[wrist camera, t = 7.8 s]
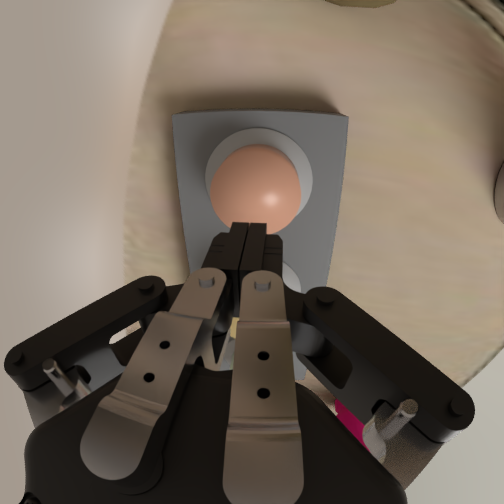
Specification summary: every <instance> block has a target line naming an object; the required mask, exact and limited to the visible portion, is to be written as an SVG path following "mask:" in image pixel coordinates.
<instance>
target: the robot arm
mask: <svg viewBox="0 0 504 504" xmlns="http://www.w3.org/2000/svg"><path fill="white" fill-rule="evenodd" d="M495 208H496V212H497V215H498V217H499V219H500V220H501V221H502V223H503V224H504V163H503V165H502V167H501V170H500V172H499V175H498V178H497V182H496V188H495ZM282 273H283V240H282V239H281V238H280V236H279V235H277V234H267V223H253V222H250V223H249V222H232V225H231V228H230V231H229V233H227V232H220V233H219V234H218V235H217V236H215V237H214V238H213V240H212V242H211V246H210V247H209V250H208V252H207V254H206V257H205V259H204V262H203V264H202V266H201V269H198V270H196V271H194V272H192V273H191V274H190V275H189V277H188V278H187V280H186V282H185V283H184V284H180V285H173V286H165V282H164V280H163V279H161V278H160V277H157V276H144V277H141V278H139V279H137V280H135V281H133V282H131V283H129V284H127V285H125V286H123V287H122V288H119V289H118V290H116V291H114V292H112V293H110V294H108V295H106V296H104V297H102V298H101V299H99V300H97V301H95V302H93V303H91V304H89V305H88V306H86V307H84V308H82V309H80V310H78V311H77V312H75V313H73V314H71V315H69V316H67V317H66V318H64V319H62V320H60V321H58V322H57V323H55V324H53V325H51V326H50V327H48V328H46V329H44V330H42V331H41V332H39V333H37V334H35V335H34V336H32V337H30V338H28V339H27V340H25V341H23V342H22V343H20V344H18V345H16V346H15V347H13V348H12V349H11V350H10V351H9V352H8V354H7V355H6V358H5V362H4V368H5V371H6V372H7V374H8V375H9V376H10V377H11V378H12V379H13V380H14V381H15V382H16V383H17V385H18V386H19V388H20V389H21V390H22V391H23V393H24V396H25V400H26V403H27V406H28V409H29V413H30V415H31V418H32V421H33V424H34V427H35V429H34V430H33V431H32V433H31V434H30V436H29V438H28V440H27V442H26V446H25V452H24V458H25V471H26V485H25V493H24V497H23V499H22V500H21V502H20V503H19V504H407V497H406V493H405V491H404V490H405V489H406V488H407V487H408V486H409V485H410V484H411V483H412V482H413V481H414V479H415V478H416V477H417V476H418V475H419V474H420V473H421V471H422V470H423V469H424V468H425V467H426V465H427V464H428V463H429V462H430V460H431V459H432V458H433V457H434V456H435V454H436V453H437V452H438V450H439V449H440V448H441V446H442V445H444V444H445V443H447V442H448V441H449V440H451V439H452V438H454V437H455V436H456V435H458V434H459V433H460V432H462V431H463V430H464V429H465V428H467V427H468V426H469V425H470V424H471V422H472V421H473V418H474V414H475V406H474V403H473V400H472V398H471V397H470V395H469V394H468V393H467V392H466V391H464V390H463V389H462V388H461V387H460V386H458V385H457V384H456V383H455V382H453V381H452V380H451V379H450V378H449V377H447V376H446V375H445V374H444V373H442V372H441V371H440V370H439V369H437V368H436V367H435V366H434V365H432V364H431V363H430V362H429V361H427V360H426V359H425V358H424V357H422V356H421V355H420V354H419V353H417V352H416V351H415V350H414V349H412V348H411V347H410V346H409V345H407V344H406V343H405V342H404V341H402V340H401V339H400V338H398V337H397V336H396V335H395V334H393V333H392V332H391V331H390V330H388V329H387V328H386V327H384V326H383V325H382V324H381V323H379V322H378V321H377V320H375V319H374V318H373V317H372V316H370V315H369V314H368V313H366V312H365V311H364V310H362V309H361V308H360V307H359V306H357V305H356V304H355V303H353V302H352V301H351V300H349V299H348V298H347V297H346V296H344V295H343V294H342V293H340V292H339V291H337V290H335V289H333V288H330V287H324V286H320V287H315V288H312V289H310V290H308V291H307V292H306V294H304V293H300V292H297V291H294V290H292V289H290V288H289V287H288V286H287V285H286V284H285V283H284V281H283V277H282ZM233 317H235V318H239V321H237V326H236V338H235V350H234V362H233V369H232V370H223V371H219V370H220V367H221V363H222V360H223V357H224V354H225V350H226V347H227V344H228V341H229V337H230V334H231V324H232V319H233ZM137 321H139V323H140V326H141V328H139V329H138V330H136V331H134V332H133V333H131V334H129V335H128V336H126V337H124V338H122V339H121V340H119V341H117V342H116V343H113V344H109V341H110V338H111V337H112V336H113V335H114V334H116V333H118V332H119V331H121V330H123V329H125V328H126V327H128V326H130V325H132V324H133V323H135V322H137ZM292 351H293V352H296V356H297V358H298V359H299V361H300V362H301V363H302V364H303V365H304V366H305V367H306V368H307V369H308V370H309V371H310V372H311V373H312V374H313V375H314V376H315V377H316V378H317V379H318V380H319V381H320V382H321V383H322V384H323V385H324V386H325V387H326V388H327V389H328V390H329V391H330V392H331V393H332V394H333V395H334V396H335V397H336V398H337V399H338V400H339V401H340V402H341V403H342V404H343V405H344V406H345V407H346V408H347V409H348V410H349V411H350V412H351V413H352V414H353V415H354V416H355V417H356V418H357V419H358V420H359V421H360V422H362V423H363V424H364V425H365V426H364V428H363V433H362V436H363V441H364V443H365V445H366V446H367V448H368V449H369V450H370V452H371V453H370V452H369V451H368V450H367V449H366V448H365V447H364V446H363V445H362V443H361V442H360V441H359V440H358V439H357V438H356V437H355V436H354V435H353V434H352V433H351V432H350V431H349V430H348V429H347V428H346V426H345V425H344V424H343V423H342V422H341V421H340V420H339V419H338V418H337V417H336V416H335V415H334V413H333V412H332V411H331V410H330V409H329V408H328V407H327V406H326V405H325V404H324V402H323V401H322V400H321V399H320V398H319V397H318V396H317V395H316V394H315V393H313V392H312V391H311V390H309V389H308V388H306V387H305V386H303V385H301V384H299V383H296V382H295V375H294V364H293V352H292Z"/></svg>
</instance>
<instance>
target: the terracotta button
mask: <svg viewBox="0 0 504 504" xmlns="http://www.w3.org/2000/svg"><path fill="white" fill-rule="evenodd" d="M210 198H211V203H212V206H213V209H214V211H215V213H216V214H217V216H218V217H219V219H220V220H221V221H222V222H223V223H224V224H225V225H227V226H228V227H229V228H231V225H232V222H249V223H250V222H253V223H267V234H273V233H275V232H278V231H280V230H281V229H283V228H284V227H286V226H287V225H288V224H289V223H290V222H291V221H292V220H293V219H294V217H295V216H296V214H297V212H298V210H299V207H300V203H301V187H300V182H299V177H298V173H297V170H296V168H295V166H294V164H293V162H292V161H291V160H290V159H289V157H288V156H287V155H286V154H284V153H283V152H282V151H280V150H278V149H277V148H275V147H272V146H269V145H264V144H250V145H246V146H243V147H240V148H238V149H236V150H235V151H233V152H232V153H231V154H229V155H228V156H227V158H226V159H225V160H224V161H223V163H222V164H221V165H220V167H219V168H218V170H217V171H216V173H215V174H214V177H213V179H212V182H211V187H210Z"/></svg>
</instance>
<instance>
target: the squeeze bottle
mask: <svg viewBox="0 0 504 504" xmlns="http://www.w3.org/2000/svg"><path fill="white" fill-rule="evenodd" d="M325 1H327V2H330V3H333V4H336V5H339V6H350V7H367V8H377V7H381V6H384V5H388V4H392V3H394V2H395V1H396V0H325Z"/></svg>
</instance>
